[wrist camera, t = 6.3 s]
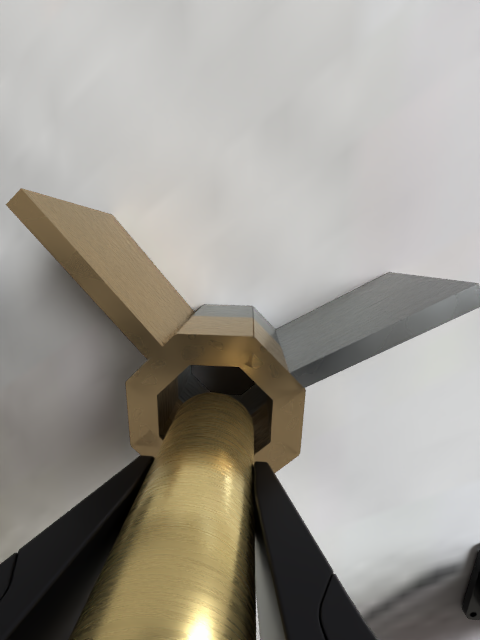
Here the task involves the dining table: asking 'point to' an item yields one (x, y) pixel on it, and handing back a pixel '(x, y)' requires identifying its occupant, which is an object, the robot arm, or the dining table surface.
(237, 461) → the hinge pin
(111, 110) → the dining table surface
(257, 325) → the hinge
